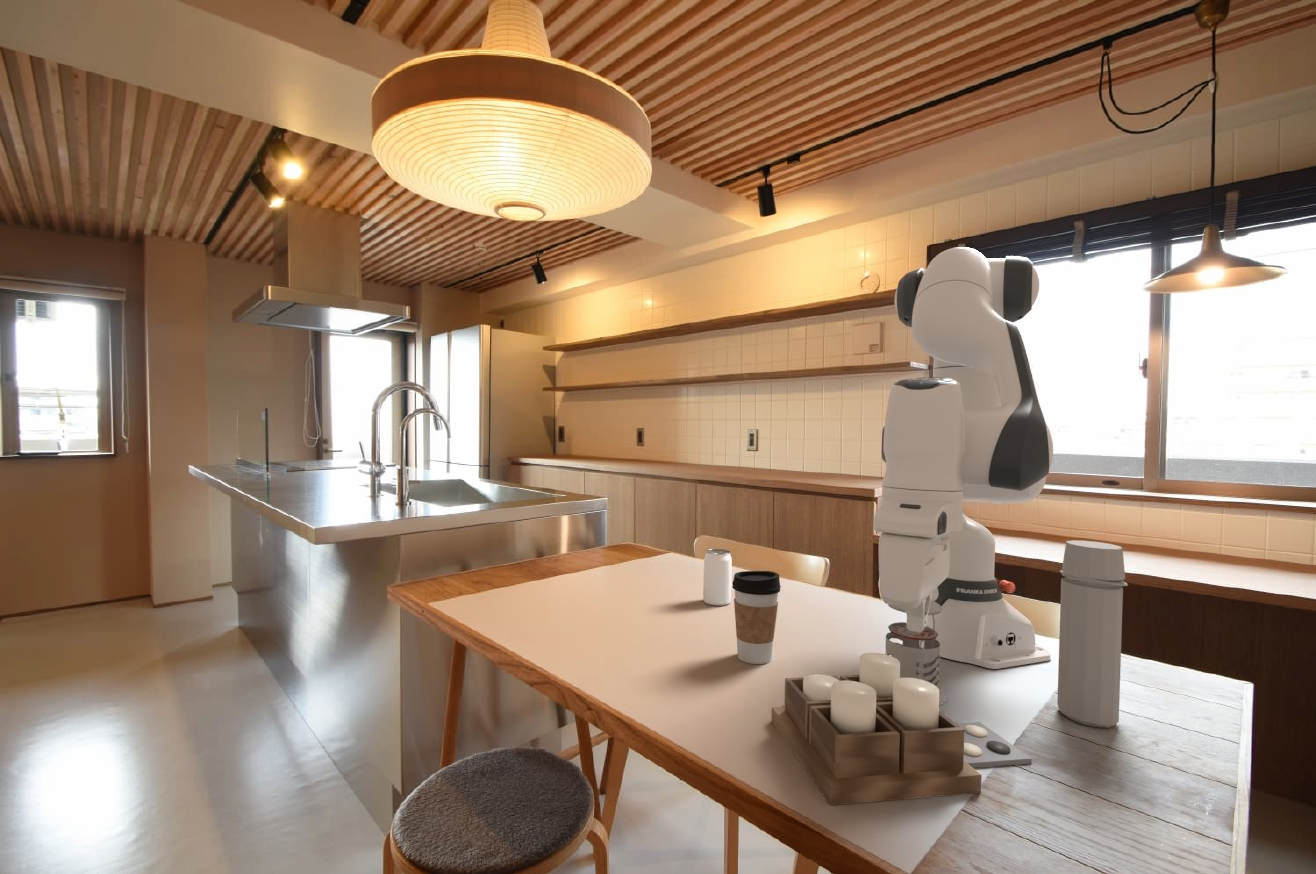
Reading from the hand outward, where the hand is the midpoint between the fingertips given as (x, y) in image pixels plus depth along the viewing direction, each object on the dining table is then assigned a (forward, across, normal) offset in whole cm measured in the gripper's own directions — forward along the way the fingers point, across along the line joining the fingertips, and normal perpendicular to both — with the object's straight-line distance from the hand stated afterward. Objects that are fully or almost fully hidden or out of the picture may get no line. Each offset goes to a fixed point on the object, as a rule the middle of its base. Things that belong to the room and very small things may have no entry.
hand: (917, 628), depth 69 cm
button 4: (+12, 0, 0) cm, 12 cm away
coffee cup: (+17, -20, -30) cm, 40 cm away
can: (+16, -44, -52) cm, 71 cm away
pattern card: (+17, -11, +5) cm, 21 cm away
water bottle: (+17, -31, +18) cm, 39 cm away
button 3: (+12, -6, -6) cm, 15 cm away
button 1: (+15, -1, -11) cm, 18 cm away
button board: (+17, 0, -6) cm, 18 cm away
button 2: (+12, +5, -6) cm, 14 cm away
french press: (+17, -24, -5) cm, 30 cm away
